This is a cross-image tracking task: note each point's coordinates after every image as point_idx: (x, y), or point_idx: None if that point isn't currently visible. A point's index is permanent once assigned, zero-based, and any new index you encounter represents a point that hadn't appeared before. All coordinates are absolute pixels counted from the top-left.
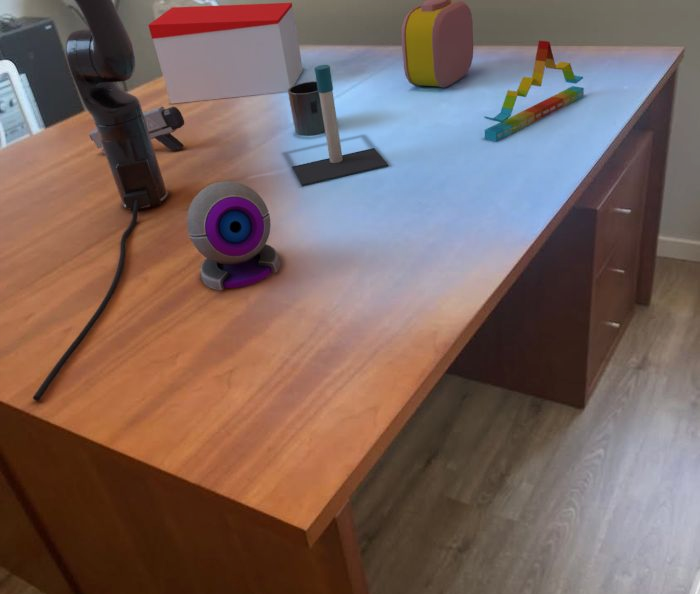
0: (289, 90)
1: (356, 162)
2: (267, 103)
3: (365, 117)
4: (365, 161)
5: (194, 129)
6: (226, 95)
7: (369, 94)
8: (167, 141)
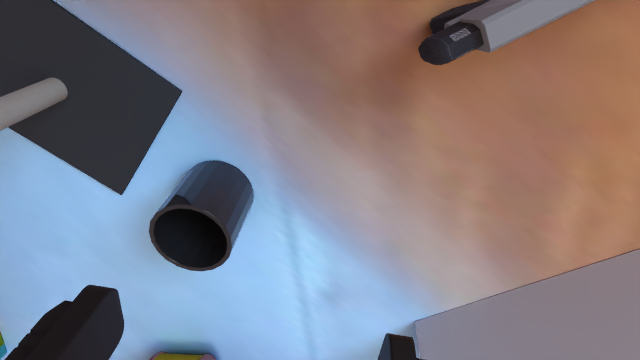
0: (214, 220)
1: None
2: (419, 273)
3: None
4: None
5: (493, 135)
6: (538, 285)
7: (259, 326)
8: (461, 9)
